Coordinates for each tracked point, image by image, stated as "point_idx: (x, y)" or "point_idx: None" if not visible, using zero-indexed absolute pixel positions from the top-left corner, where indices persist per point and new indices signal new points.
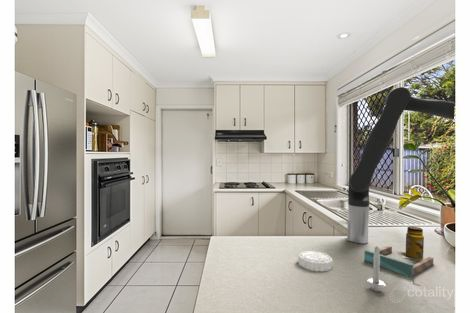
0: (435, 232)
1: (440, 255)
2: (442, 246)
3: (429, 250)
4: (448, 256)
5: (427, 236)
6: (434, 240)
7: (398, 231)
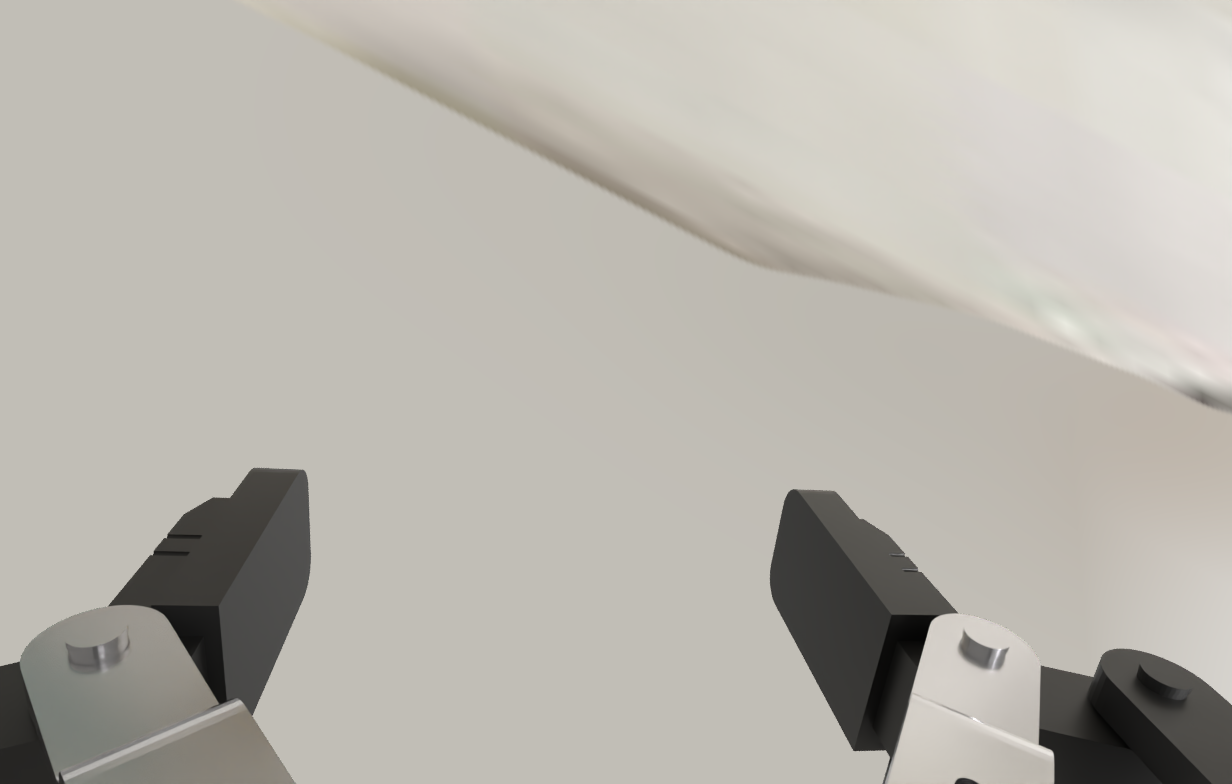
0: (1226, 391)
1: (486, 55)
2: (772, 219)
3: (608, 22)
4: (482, 118)
5: (1076, 241)
6: (951, 242)
7: (1223, 3)
